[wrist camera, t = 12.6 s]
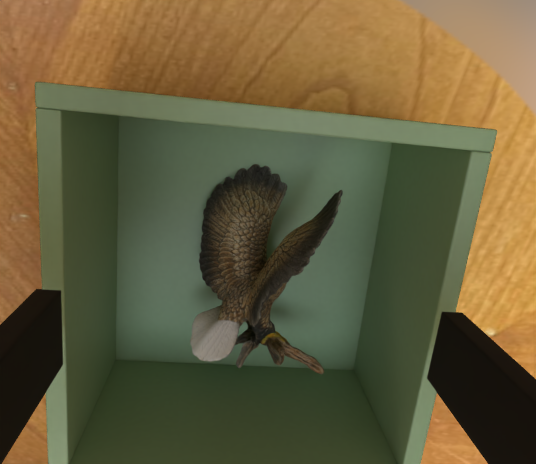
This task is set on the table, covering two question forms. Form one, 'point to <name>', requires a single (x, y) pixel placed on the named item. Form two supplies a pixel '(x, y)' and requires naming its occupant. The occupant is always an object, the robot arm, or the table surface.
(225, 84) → the table surface
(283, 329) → the bin
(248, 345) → the eagle figurine
